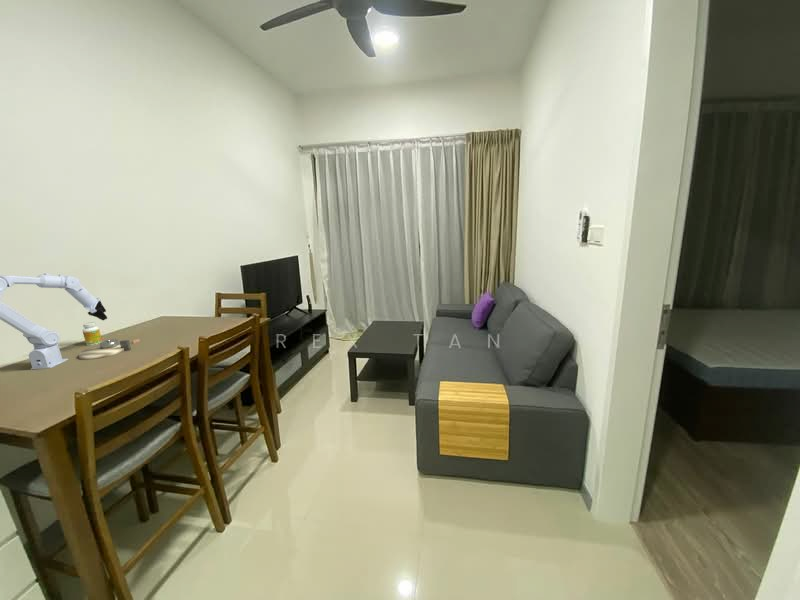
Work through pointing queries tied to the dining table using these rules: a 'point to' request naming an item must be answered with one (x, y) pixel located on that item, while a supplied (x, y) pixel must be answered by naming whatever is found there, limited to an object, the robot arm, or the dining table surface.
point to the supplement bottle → (91, 333)
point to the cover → (109, 344)
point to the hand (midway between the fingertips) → (104, 315)
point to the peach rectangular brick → (135, 340)
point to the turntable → (104, 351)
